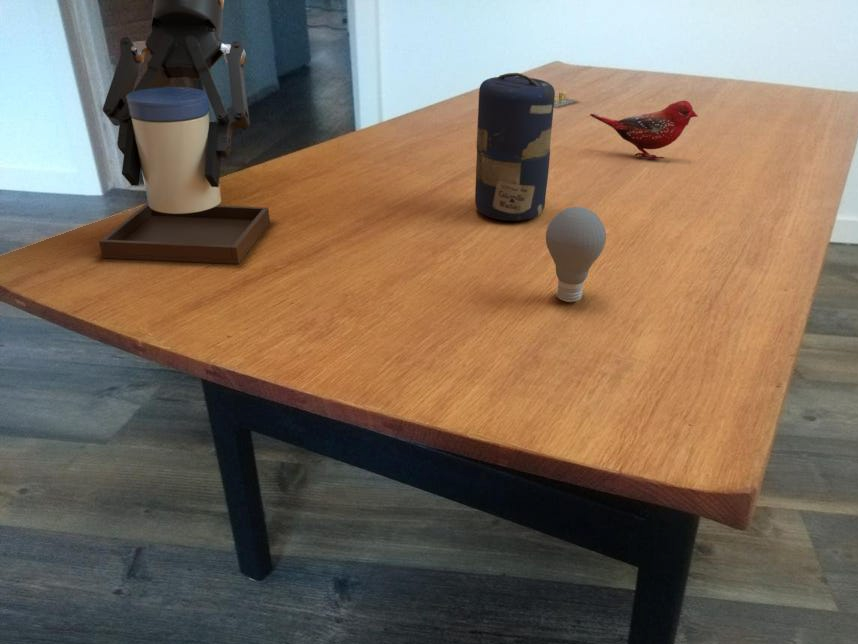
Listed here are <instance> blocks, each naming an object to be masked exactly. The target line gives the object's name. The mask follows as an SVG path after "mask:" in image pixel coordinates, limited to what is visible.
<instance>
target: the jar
mask: <svg viewBox="0 0 858 644" xmlns="http://www.w3.org/2000/svg"><path fill="white" fill-rule="evenodd" d="M131 120H132V125H133V130H134V135H135V140H136V145H137V150H138V155H139V160H140V165H141V168H140V171H141V174H142V179H143V185H144V190H145V194H146V200H147V202H148V205H149V207H150V208H151V209H152V210H155V211H157V212H162V213H169V214H186V213H195V212H200V211H204V210H208V209H211V208H213V207H215V206H217V205H220V204H221V203H222V200H223V199H222V192H221V186H220V183H219V187H211V185H210V183H209V182H208V180H207V179H206V177H205V165H206V154H207V143H208V132H209V122H211V117H210V111H209V112H208V113H207V114H205V115H203V116H200V117H196V118H191V119H184V120H173V121H153V120H143V119H138V118H134V117H132V116H131Z"/></svg>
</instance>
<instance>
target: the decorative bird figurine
mask: <svg viewBox="0 0 858 644" xmlns="http://www.w3.org/2000/svg"><path fill="white" fill-rule="evenodd" d="M589 116H591V117H592V118H594V119H596V120H597V121H599V122H602V123H604V124H605V125H607V126H609V127H611V128H612V129H613V130H615V132H616V133H617V134H618V135H619V136H620V137H621V138H622V139H623V140H625V141H626V142H629V143H630V144H632V145H633V146H635V147H636V148H637V149H638V150H639V151H640V152H637V153H635V154H634V156H638V158H645V159H646V158H647V159H650V160H656V159H657V160H659V159H661V160H662V159H663V160H665V159H666V157H664V156H657V155H656V154H650V153H649V152H647V151H646V150H658V149H663V148H665V147H668V146H669V145H671V144H672V143H673V142H675V141H677V140H678V138H679V137H680V136H681V135H682V134H683V131H684V130H685V128H686V127H687V126H689V123H690V121H691V118H696V117H697V118H698V114H697V112H695V111H694V108H693V106H692V104H691V103H690V102H689V101H687V100H679V101H676V102H672V103H671V104H669V105H668V106H667V107H665V108H663V109H661V110H659V111H655V112H650V113H643V114H638V115H633V116H629V117H626V118H622V119H619V120H617V119H612V118H608V117H605V116H602V115H598V114H595V113H590V114H589Z"/></svg>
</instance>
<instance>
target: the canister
mask: <svg viewBox="0 0 858 644" xmlns="http://www.w3.org/2000/svg"><path fill="white" fill-rule="evenodd" d="M478 89H479V90H478V108H477V127H476V128H477V129H476V131H477V132H476V163H475V190H474V204H475V207H476V209H477V210H478V212H480V213H481V214H482V215H484V216H486V217H488V218H491V219H493V220H494V219H495V220H500V221H506V222H507V221H510V222H515V221H526V220H530V219H534V218H536V217H538V216H539V215H541V214H542V212H544V209H545V207H546V195H547V188H548V179H549V172H550V171H549V170H550V157H551V140H552V129H553V119H554V118H553V117H554V107H555V106H554V101H555V97H556V90H555V88H554V86H553V85H552V84H551V83H550V82H548V81H545V80H542V79H538V78H534V77H529V76H527V75H525V74H523V73H519V72H508V73H503V74H500V75H499V76H494V77H490V78H487V79H485V80H483V81H482V82H481V84H480V86H479V88H478ZM554 90H555V91H554Z"/></svg>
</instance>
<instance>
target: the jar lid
mask: <svg viewBox="0 0 858 644" xmlns="http://www.w3.org/2000/svg"><path fill="white" fill-rule="evenodd" d="M133 91H134V90H133ZM126 99H127V104H128V109H129V114H130V115H131V116H132V117H134V118H138V119H143V120H153V121H173V120H184V119H191V118H196V117H200V116H203V115H205V114H207V113H208V112H209V113H210V104H209V103H210V102H209V98H208V96H207V93H206V91H205V90H202V89H199V88H194V87H183V86H181V87H180V86H164V87H160V88H149V89H143V90H138V91H134V92H131V93H129V94H127V95H126Z"/></svg>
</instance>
